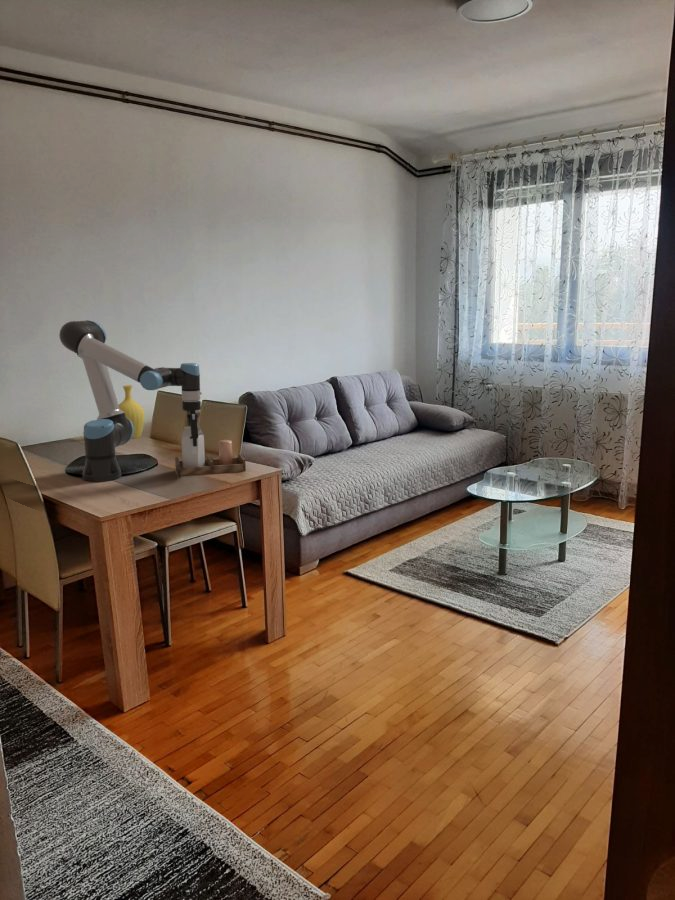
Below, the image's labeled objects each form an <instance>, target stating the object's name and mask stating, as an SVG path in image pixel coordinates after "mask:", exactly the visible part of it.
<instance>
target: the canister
mask: <svg viewBox="0 0 675 900" xmlns="http://www.w3.org/2000/svg"><path fill="white" fill-rule="evenodd" d="M218 457H219V458H218V459H219V465H232V464H233V460H232V458H233V441H232V440H231V439H221V440H218Z"/></svg>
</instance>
